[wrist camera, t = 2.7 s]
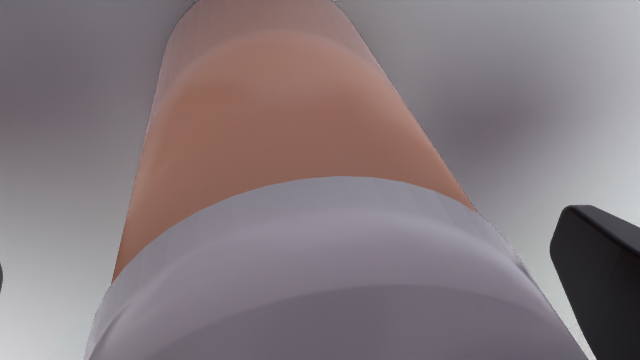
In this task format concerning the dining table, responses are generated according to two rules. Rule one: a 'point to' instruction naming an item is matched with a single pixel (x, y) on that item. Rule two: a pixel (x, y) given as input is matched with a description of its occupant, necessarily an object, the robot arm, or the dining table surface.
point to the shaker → (304, 212)
